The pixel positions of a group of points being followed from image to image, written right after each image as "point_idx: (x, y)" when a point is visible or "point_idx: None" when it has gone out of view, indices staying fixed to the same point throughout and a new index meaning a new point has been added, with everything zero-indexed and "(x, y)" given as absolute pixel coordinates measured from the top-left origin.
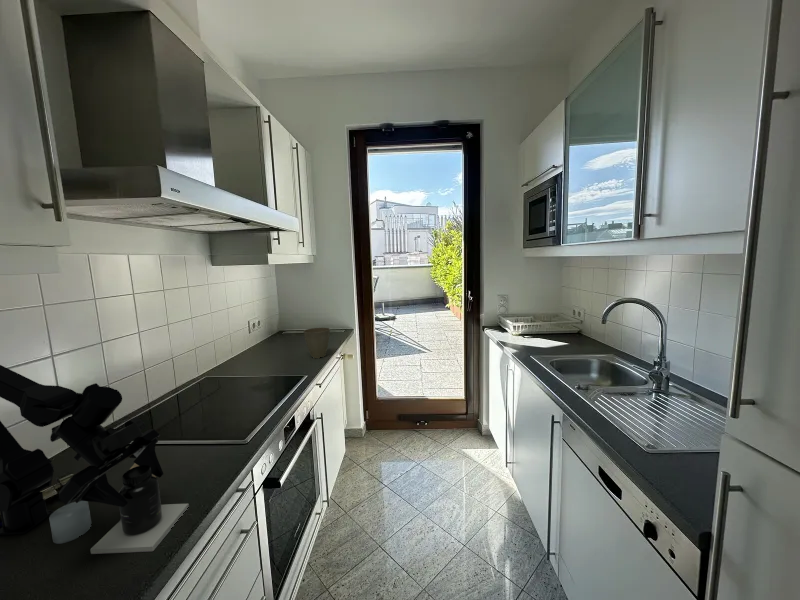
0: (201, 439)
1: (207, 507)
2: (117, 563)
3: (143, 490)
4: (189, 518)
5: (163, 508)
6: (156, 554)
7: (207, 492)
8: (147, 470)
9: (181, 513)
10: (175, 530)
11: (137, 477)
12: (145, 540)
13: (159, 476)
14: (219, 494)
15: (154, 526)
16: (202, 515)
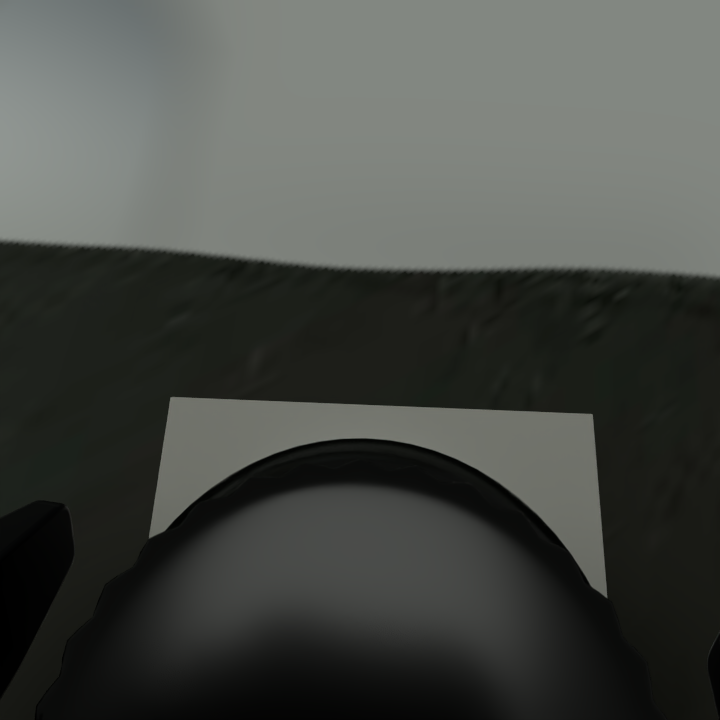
0: None
1: (205, 279)
2: (685, 607)
3: (510, 508)
4: (299, 345)
5: None
6: (602, 386)
7: (26, 354)
8: (318, 503)
9: (266, 403)
10: (405, 380)
11: (584, 588)
12: (540, 500)
13: (68, 555)
14: (76, 259)
15: None
16: (282, 275)
